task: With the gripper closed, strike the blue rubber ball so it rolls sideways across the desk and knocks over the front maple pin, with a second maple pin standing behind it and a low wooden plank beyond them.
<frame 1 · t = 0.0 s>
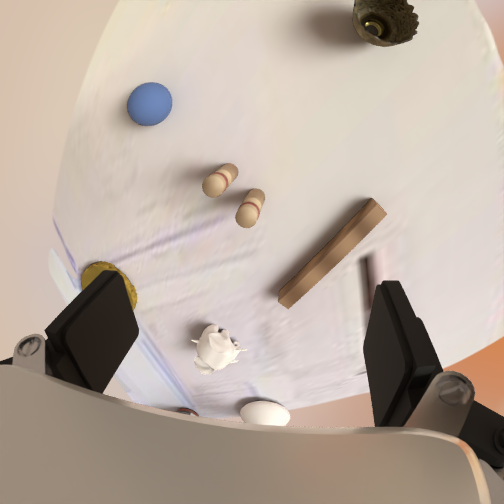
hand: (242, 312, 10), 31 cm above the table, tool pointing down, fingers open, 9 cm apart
wooden plank: (328, 251, 43), on the table
elephant figurine: (221, 336, 53), on the table
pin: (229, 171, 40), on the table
flower in vase: (266, 407, 62), on the table
supplement bottle: (188, 412, 68), on the table
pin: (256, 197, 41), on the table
ball: (149, 104, 34), on the table
cup: (371, 31, 28), on the table
gold brake disc: (111, 287, 53), on the table
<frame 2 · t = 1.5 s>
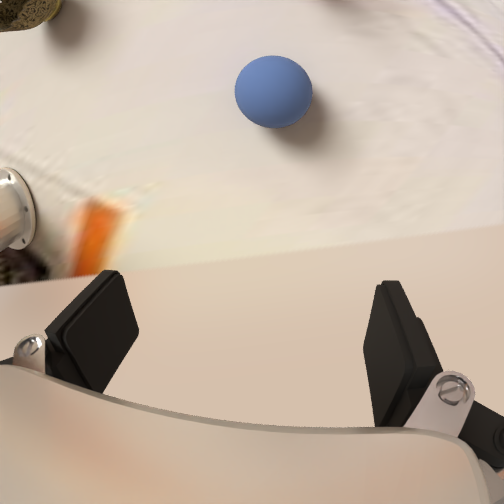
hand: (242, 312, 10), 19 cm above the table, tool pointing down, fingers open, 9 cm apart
ball: (273, 91, 21), on the table
cup: (54, 9, 20), on the table
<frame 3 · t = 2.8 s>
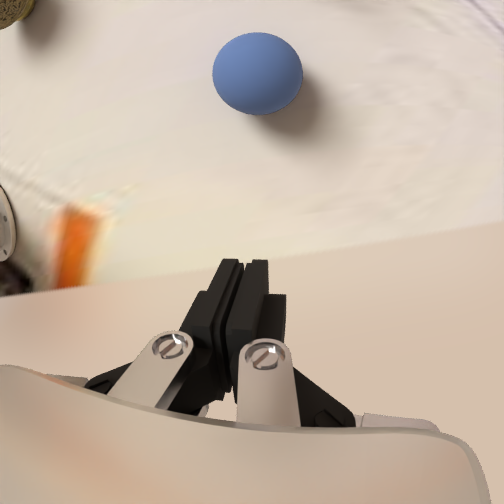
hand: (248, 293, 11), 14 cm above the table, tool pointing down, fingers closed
ball: (257, 73, 17), on the table
cup: (28, 8, 17), on the table
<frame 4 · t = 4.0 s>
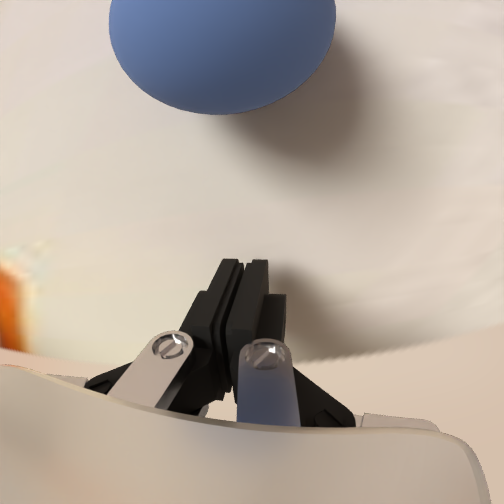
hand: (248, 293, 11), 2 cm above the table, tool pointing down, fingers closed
ball: (221, 14, 6), on the table
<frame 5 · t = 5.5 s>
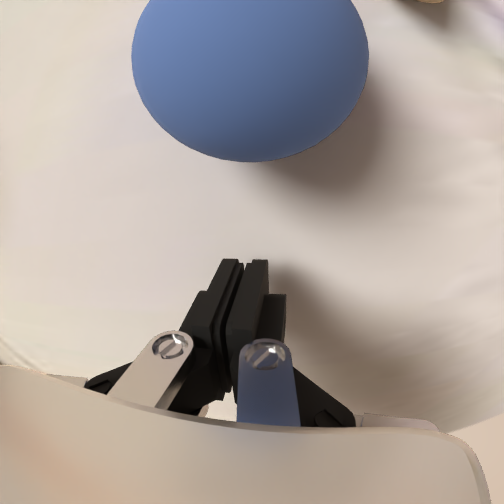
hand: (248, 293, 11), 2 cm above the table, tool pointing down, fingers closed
ball: (250, 52, 6), on the table
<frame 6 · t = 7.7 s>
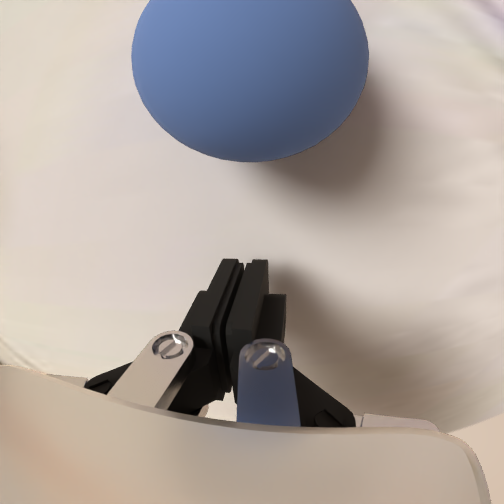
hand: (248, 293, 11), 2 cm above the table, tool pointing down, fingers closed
ball: (250, 52, 6), on the table
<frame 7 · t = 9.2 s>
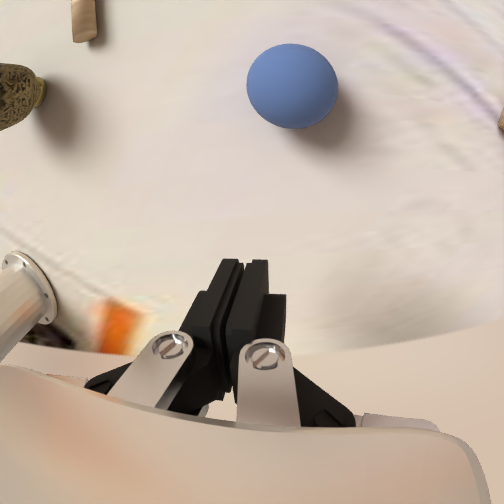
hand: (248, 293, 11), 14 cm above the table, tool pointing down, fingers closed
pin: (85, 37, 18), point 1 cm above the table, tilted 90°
ball: (292, 85, 17), on the table
cup: (39, 91, 23), on the table
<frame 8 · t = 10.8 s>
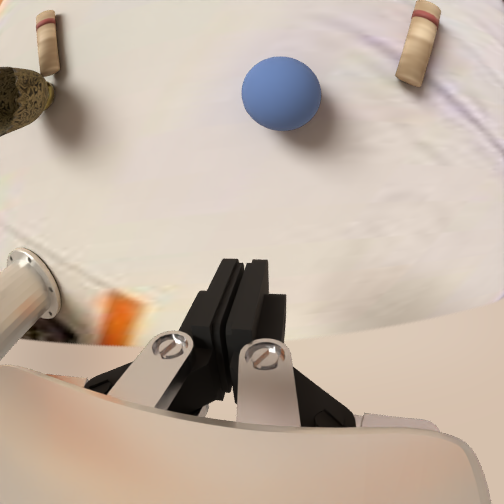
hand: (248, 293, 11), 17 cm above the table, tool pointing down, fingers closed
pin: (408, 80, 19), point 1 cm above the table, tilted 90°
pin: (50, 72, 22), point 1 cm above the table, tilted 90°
ball: (281, 93, 20), on the table
cup: (48, 95, 25), on the table
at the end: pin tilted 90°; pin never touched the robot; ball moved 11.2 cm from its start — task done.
